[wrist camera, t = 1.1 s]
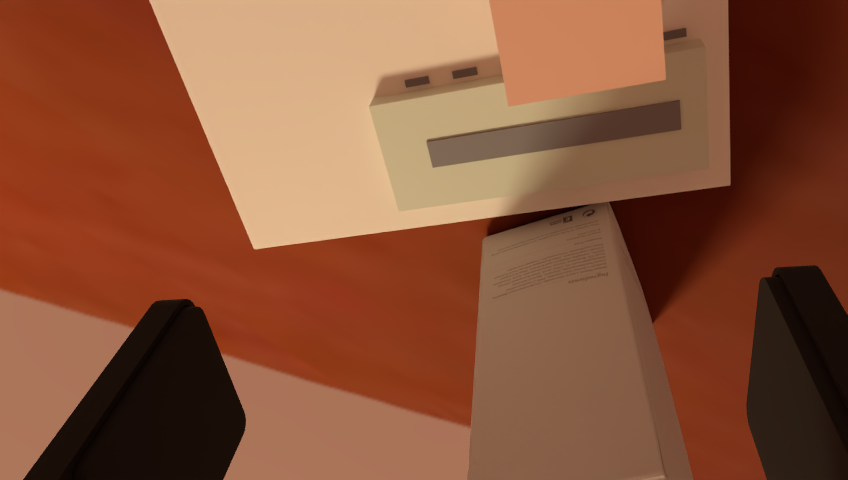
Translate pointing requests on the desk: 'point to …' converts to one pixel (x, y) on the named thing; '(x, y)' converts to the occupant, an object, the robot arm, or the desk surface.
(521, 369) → the skincare box
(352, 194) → the ticket board
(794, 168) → the desk surface
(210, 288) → the desk surface
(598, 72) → the stub
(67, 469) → the robot arm
